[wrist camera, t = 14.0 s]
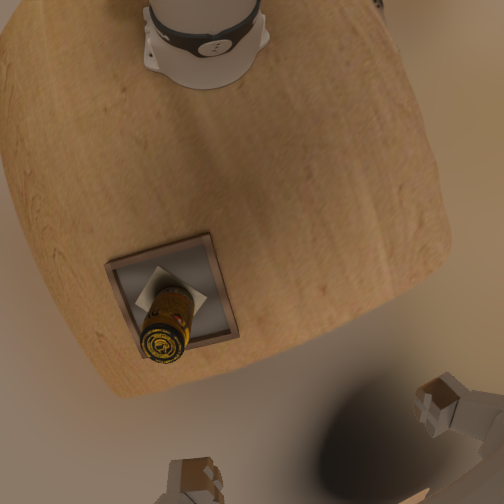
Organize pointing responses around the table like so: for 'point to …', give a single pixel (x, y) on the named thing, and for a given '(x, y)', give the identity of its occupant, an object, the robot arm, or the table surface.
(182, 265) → the square wooden tray
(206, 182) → the table surface
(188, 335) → the condiment
